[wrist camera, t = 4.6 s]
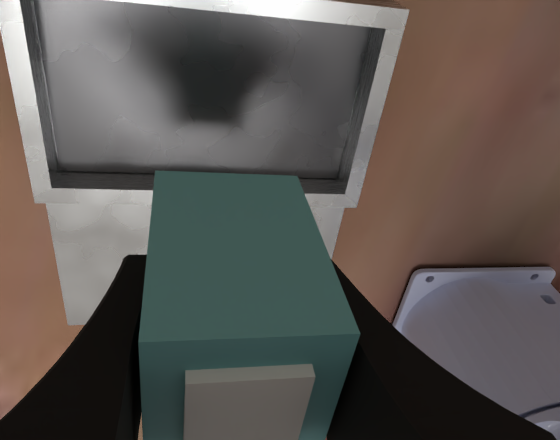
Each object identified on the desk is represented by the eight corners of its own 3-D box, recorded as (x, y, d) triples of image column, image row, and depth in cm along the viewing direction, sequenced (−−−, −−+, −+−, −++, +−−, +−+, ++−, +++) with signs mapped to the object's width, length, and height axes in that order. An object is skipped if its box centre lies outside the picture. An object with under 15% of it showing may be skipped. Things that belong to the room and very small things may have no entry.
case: (389, -2, 18) (409, 9, 16) (344, 184, 23) (356, 207, 21) (7, -47, 15) (-14, -38, 14) (46, 177, 20) (34, 203, 18)
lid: (344, 183, 23) (349, 193, 22) (314, 307, 28) (318, 318, 27) (46, 176, 20) (41, 187, 19) (70, 315, 25) (67, 328, 24)
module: (297, 175, 14) (365, 346, 9) (278, 279, 16) (324, 463, 11) (155, 170, 13) (136, 356, 8) (156, 280, 15) (143, 481, 10)
